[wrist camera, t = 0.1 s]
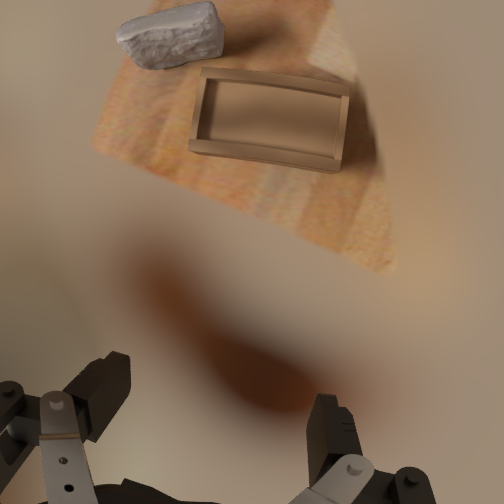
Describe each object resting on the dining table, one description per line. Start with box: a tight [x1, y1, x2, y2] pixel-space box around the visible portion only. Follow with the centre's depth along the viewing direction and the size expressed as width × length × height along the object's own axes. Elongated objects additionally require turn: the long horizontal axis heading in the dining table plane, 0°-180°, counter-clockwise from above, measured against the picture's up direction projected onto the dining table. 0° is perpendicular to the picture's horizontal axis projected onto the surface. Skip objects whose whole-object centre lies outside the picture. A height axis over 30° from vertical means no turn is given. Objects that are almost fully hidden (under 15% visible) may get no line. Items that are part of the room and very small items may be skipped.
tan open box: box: [188, 67, 350, 174], centre depth 32 cm, size 9×15×5 cm, turn 82°
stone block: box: [116, 1, 225, 70], centre depth 32 cm, size 12×5×10 cm, turn 94°
